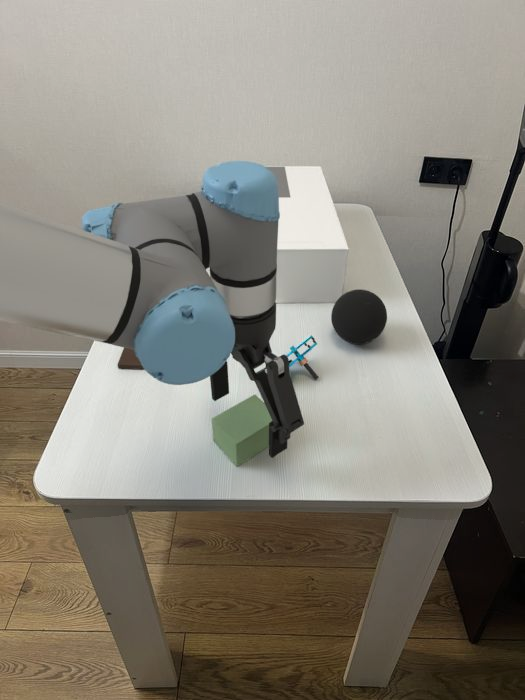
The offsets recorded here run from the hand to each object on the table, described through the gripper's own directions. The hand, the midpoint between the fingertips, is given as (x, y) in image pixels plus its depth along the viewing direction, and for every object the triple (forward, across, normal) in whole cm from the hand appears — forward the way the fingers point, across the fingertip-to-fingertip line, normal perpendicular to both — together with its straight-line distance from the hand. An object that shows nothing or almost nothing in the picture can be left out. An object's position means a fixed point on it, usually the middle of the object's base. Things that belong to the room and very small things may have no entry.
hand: (247, 422), depth 71 cm
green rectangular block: (+4, 0, 0) cm, 4 cm away
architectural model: (+4, +41, -43) cm, 59 cm away
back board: (+4, +30, -4) cm, 31 cm away
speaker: (+4, +7, -31) cm, 32 cm away
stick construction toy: (+4, +6, -15) cm, 17 cm away
